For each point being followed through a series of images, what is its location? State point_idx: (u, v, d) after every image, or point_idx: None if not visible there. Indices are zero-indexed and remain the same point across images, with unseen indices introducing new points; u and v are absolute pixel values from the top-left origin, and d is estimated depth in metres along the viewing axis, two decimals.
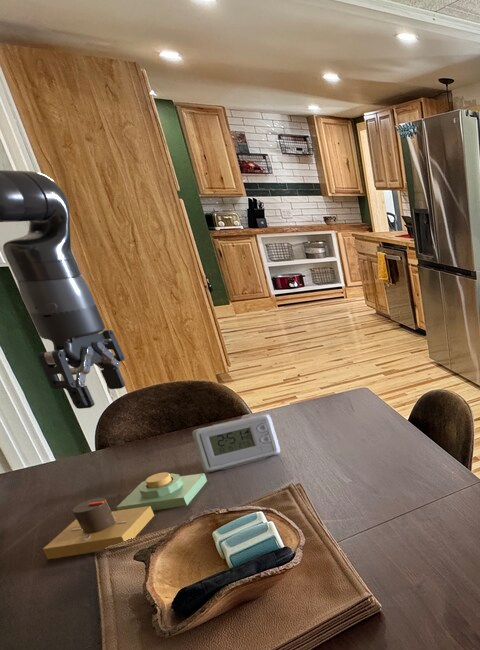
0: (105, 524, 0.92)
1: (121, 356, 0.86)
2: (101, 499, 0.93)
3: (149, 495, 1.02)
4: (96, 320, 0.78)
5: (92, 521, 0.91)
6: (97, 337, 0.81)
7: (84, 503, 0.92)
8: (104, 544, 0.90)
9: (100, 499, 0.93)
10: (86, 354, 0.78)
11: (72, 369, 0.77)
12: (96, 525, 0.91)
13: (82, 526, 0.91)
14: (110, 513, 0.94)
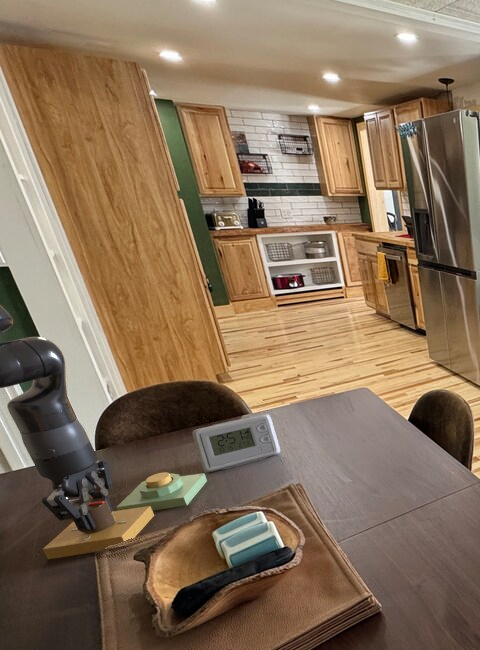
0: (105, 524, 0.93)
1: (109, 484, 0.96)
2: (101, 499, 0.93)
3: (149, 495, 1.02)
4: (89, 456, 0.88)
5: None
6: (91, 466, 0.92)
7: None
8: (104, 544, 0.90)
9: (100, 499, 0.93)
10: (82, 487, 0.88)
11: (73, 501, 0.88)
12: (96, 525, 0.91)
13: None
14: (110, 513, 0.94)
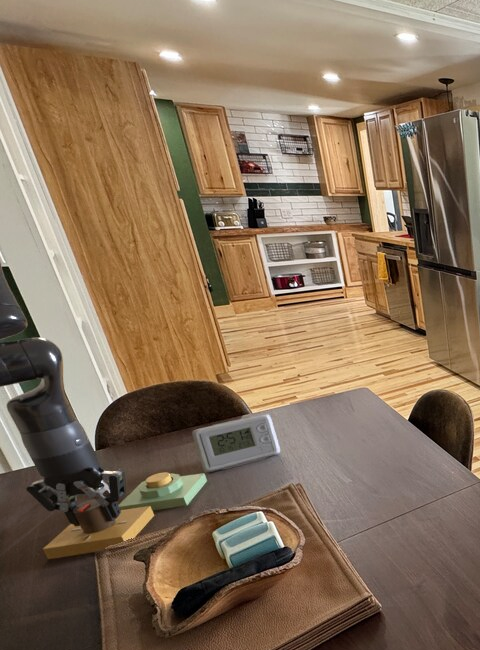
0: (82, 529, 0.91)
1: (113, 498, 0.91)
2: (94, 507, 0.91)
3: (149, 495, 1.02)
4: (48, 469, 0.84)
5: None
6: (89, 475, 0.89)
7: None
8: (104, 544, 0.90)
9: (95, 506, 0.91)
10: (57, 489, 0.88)
11: None
12: None
13: None
14: (88, 523, 0.91)
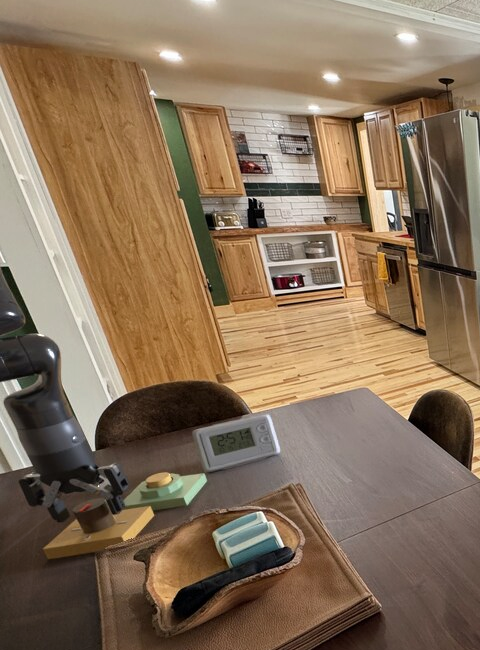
0: (82, 529, 0.91)
1: (117, 491, 0.91)
2: (94, 507, 0.91)
3: (149, 495, 1.02)
4: (44, 466, 0.84)
5: None
6: (85, 473, 0.88)
7: (99, 500, 0.93)
8: (104, 544, 0.90)
9: (95, 506, 0.91)
10: (51, 486, 0.87)
11: None
12: None
13: None
14: (89, 523, 0.91)
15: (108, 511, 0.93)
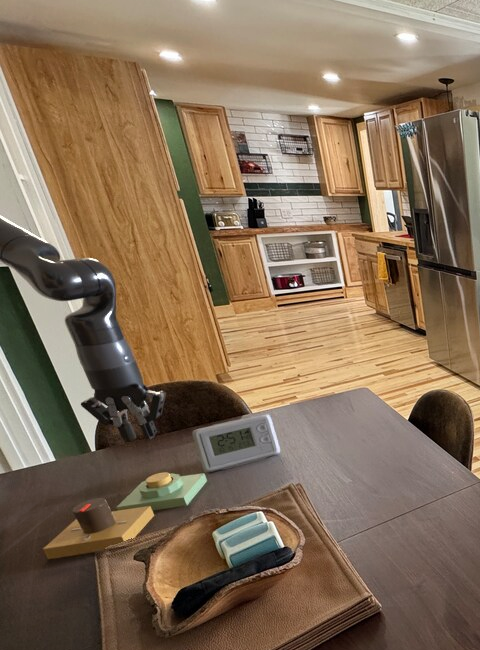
0: (82, 529, 0.91)
1: (151, 416, 0.99)
2: (94, 507, 0.91)
3: (149, 495, 1.02)
4: (100, 381, 0.92)
5: None
6: (135, 391, 0.96)
7: (99, 500, 0.93)
8: (104, 544, 0.90)
9: (95, 506, 0.91)
10: (107, 404, 0.95)
11: None
12: None
13: None
14: (89, 523, 0.91)
15: (108, 511, 0.93)
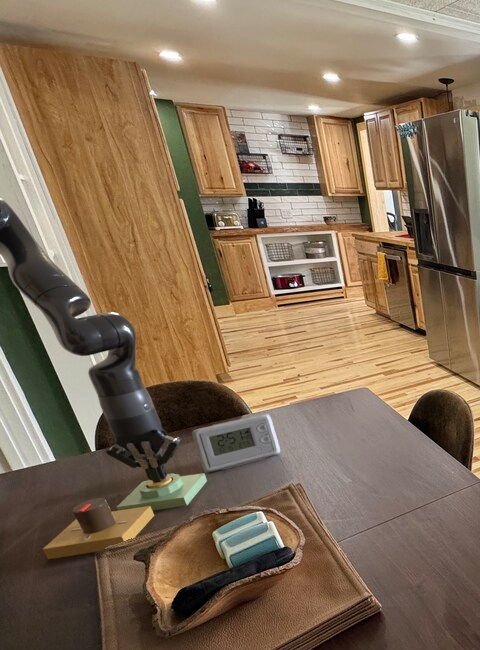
0: (82, 529, 0.91)
1: (162, 460, 1.02)
2: (94, 507, 0.91)
3: (149, 495, 1.02)
4: (121, 429, 0.96)
5: None
6: (154, 436, 1.00)
7: (99, 500, 0.93)
8: (104, 544, 0.90)
9: (95, 506, 0.91)
10: (129, 449, 0.99)
11: None
12: None
13: None
14: (89, 523, 0.91)
15: (108, 511, 0.93)
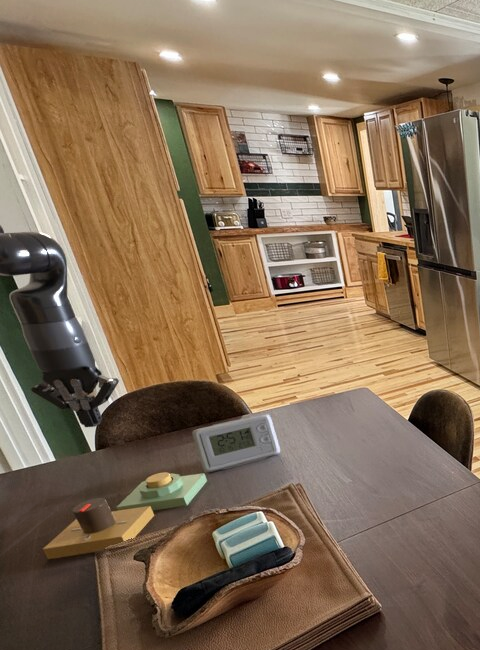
0: (82, 529, 0.91)
1: (95, 402, 0.93)
2: (94, 507, 0.91)
3: (149, 495, 1.02)
4: (46, 362, 0.87)
5: None
6: (86, 374, 0.91)
7: (99, 500, 0.93)
8: (104, 544, 0.90)
9: (95, 506, 0.91)
10: (57, 387, 0.90)
11: None
12: None
13: None
14: (89, 523, 0.91)
15: (108, 511, 0.93)
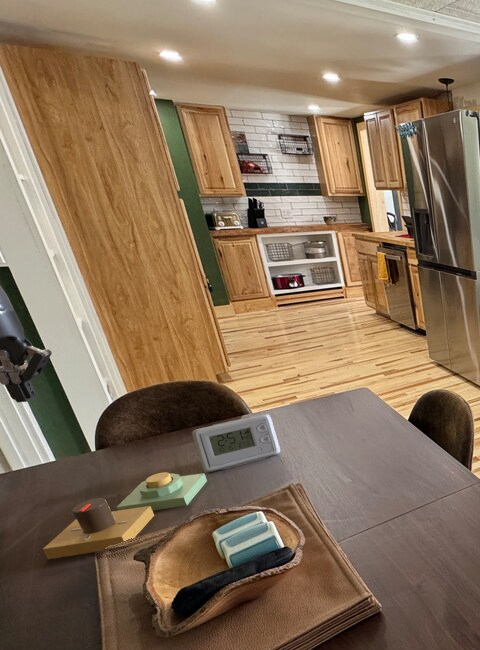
0: (82, 529, 0.91)
1: (26, 375, 0.87)
2: (94, 507, 0.91)
3: (149, 495, 1.02)
4: None
5: None
6: (13, 345, 0.85)
7: (99, 500, 0.93)
8: (104, 544, 0.90)
9: (95, 506, 0.91)
10: None
11: None
12: None
13: None
14: (89, 523, 0.91)
15: (108, 511, 0.93)
